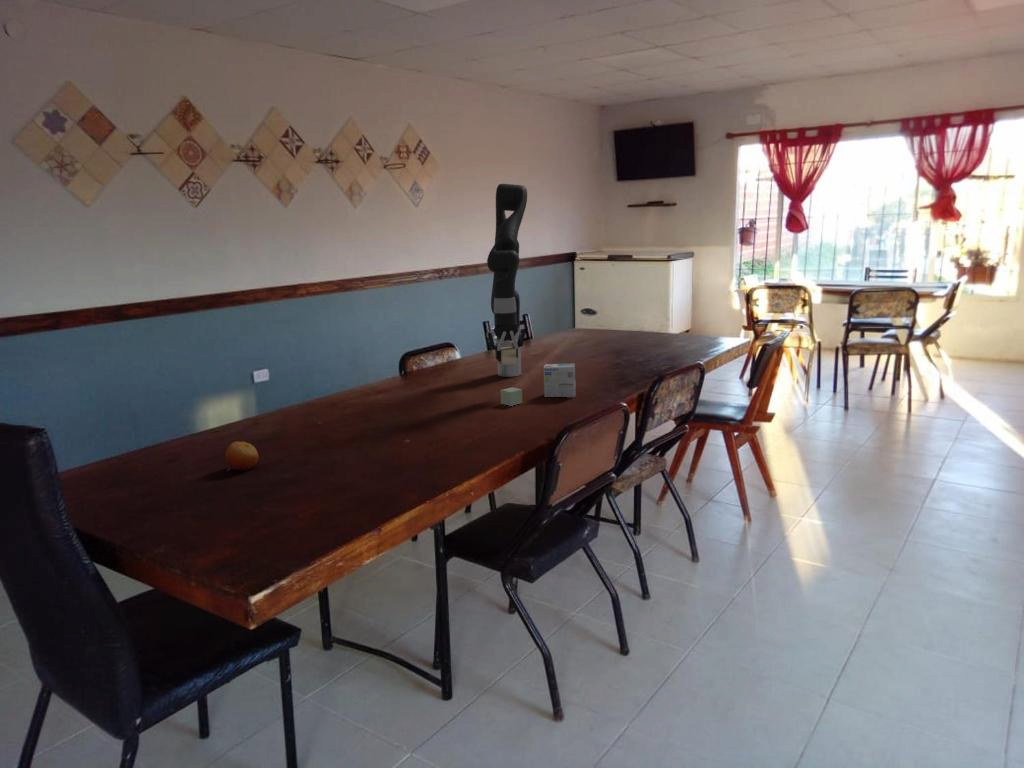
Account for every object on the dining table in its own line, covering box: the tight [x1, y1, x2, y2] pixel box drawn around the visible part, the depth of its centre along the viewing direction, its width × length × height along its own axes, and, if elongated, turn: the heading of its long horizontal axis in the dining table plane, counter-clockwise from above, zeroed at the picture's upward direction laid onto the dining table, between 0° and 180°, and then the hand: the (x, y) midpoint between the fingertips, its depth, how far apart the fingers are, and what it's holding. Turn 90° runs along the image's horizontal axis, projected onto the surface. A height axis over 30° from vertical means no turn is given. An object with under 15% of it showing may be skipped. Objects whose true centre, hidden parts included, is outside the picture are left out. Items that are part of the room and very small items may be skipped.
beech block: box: [497, 347, 517, 365], centre depth 253 cm, size 5×5×5 cm
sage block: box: [500, 387, 523, 407], centre depth 245 cm, size 5×5×5 cm
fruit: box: [224, 441, 260, 472], centre depth 188 cm, size 8×8×8 cm
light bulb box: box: [542, 363, 576, 398], centre depth 254 cm, size 11×7×11 cm, turn 84°
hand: (506, 360), depth 253 cm, fingers closed on beech block, 5 cm apart
